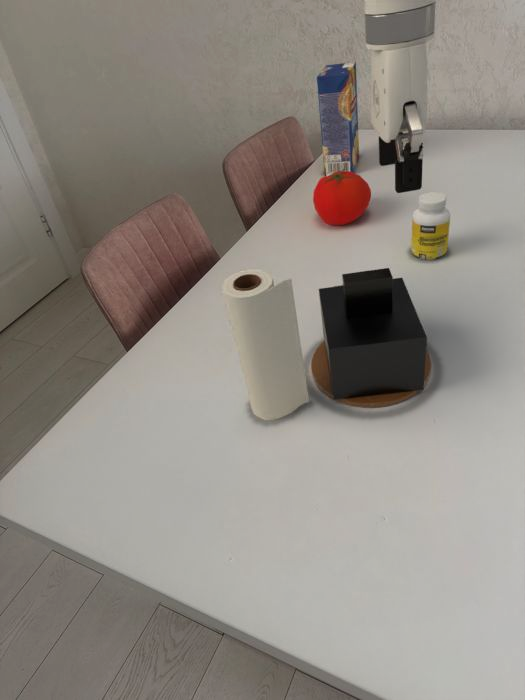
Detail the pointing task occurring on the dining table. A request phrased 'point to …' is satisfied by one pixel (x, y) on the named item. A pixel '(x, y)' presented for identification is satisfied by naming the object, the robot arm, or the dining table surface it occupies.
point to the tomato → (341, 197)
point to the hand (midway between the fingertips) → (399, 176)
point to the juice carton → (339, 117)
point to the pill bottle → (430, 227)
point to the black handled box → (370, 342)
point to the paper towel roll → (266, 342)
